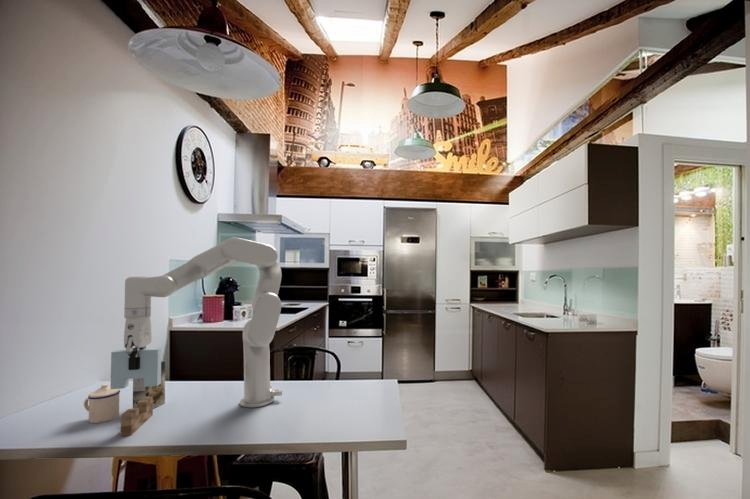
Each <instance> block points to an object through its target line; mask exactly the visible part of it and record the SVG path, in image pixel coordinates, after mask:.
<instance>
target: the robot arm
mask: <svg viewBox="0 0 750 499" xmlns="http://www.w3.org/2000/svg"><path fill="white" fill-rule="evenodd" d="M278 254H279V253H278V251H277V249H276V248H275V247H274V246H272V245H271V244H267V243H262V242H258V241H254V240H249V239H246V238H240V237H237V236H232V237H229V238H227V239H226V240H224V241H222V242H220V243H218V244H217V245H214V246H213V247H211V248H209V249H207V250H204V251H203V252H201V253H199V254H197V255H196V256H193V257H192V258H190V259H189V260H188V261H187V262H185V263H183V264H182V265H180V266H178V267H176V268H174V269H173V270H171V271H169V272H166V273H165V274H162V275H157V276H129V277H127V278H125V280H124V311H123V312H124V315H123V318H124V319H125V323H124V332H123V347H124V349H125V350H126V353H128V358H129V365H128V369H129V370H138V369H140V357H139V349H147V346H148V345H150V344H151V343H152V322H151V315H152V314H151V313H152V311H151V310H152V309H151V308H152V297H153V298H166V297H170V296H172V295H173V294H174V293H176V292H177V291H179V290H181V289H183V288H185V287H187V286H189V285H191V284H192V283H194V282H196V281H198V280H202V279H206V278H207V277H208V276H209V277H210V276H211V275H212V274H214V273H216V272H218V271H220V270H221V269H223V268H225V267H227V266H229V265H231V264H233V263H235V262H241V263H246V264H250V265H253V266H254V265H255V266H256V267H257V268H258V272H259V276H258V281H257V284H256V288H255V292H254V295H253V299H252V301H251V308H252V310H253V312H252V316H251V319H249V320H248V321H247V322H246V323H245V324H244V326H243V327H242V328H243V329H242V343H243V345H242V346H243V347H242V348H243V389H244V390H243V394H244V396H243V397H242V398H241V399H240V401H239V405H240V406H242V407H243V408H259V407H264V406H267V405H270V404H272V403H273V402H274V401H275V397H276V396H277V397H278V396H283V390H281V389H279V388H277V389H273V388H272V385H271V365H270V363H271V362H270V359H271V357H270V356H271V355H270V353H271V352H270V344H271V342H272V341H273V339H274V336H275V333H276V331H277V326H278V323H279V320H280V319H279V318H280V315H281V311H282V301H281V299H280V297H279V291H280V286H281V282H282V277H283V275H282V273H283V272H282V268H281V264H280V262H279V261H278V257H279V255H278ZM135 350H136V352H135Z"/></svg>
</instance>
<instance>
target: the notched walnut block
mask: <svg viewBox="0 0 750 499" xmlns="http://www.w3.org/2000/svg"><path fill="white" fill-rule="evenodd" d="M153 409H154V408H153V396H152V397H143V398H142V399H141V400H139V401H138V402H137V408H133V407H132V408H127V409H126V410H125V411H124V412H122V413H121V414H120V437H125V436H124V435H127V436H132V435H133V434H135V433H136V431H137V430H138V429H140V427H142V426H143V425H144V424H145V423H146V422H147V421H148V420H149V419H150V418H152V416H153V415H154V414H153V413H154V412H153Z"/></svg>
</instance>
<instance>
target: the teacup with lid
mask: <svg viewBox="0 0 750 499" xmlns="http://www.w3.org/2000/svg"><path fill="white" fill-rule="evenodd" d="M108 384H109V383H105V384H102V385H101V386H100V388H97V389H96V390H94V391H92V392H91V393H89V394H88V396H87V398H85V400H84V402H83V407H84V409H85V410H86V411H87V412H88V422H89V423H91V424H100V423H101V424H102V423H105V422H108V421H112V420H114V419H117V418H118V417H119V415H120V393H121V390H120V389H111V386H109V385H108Z"/></svg>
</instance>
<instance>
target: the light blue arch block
mask: <svg viewBox="0 0 750 499" xmlns="http://www.w3.org/2000/svg"><path fill="white" fill-rule="evenodd" d="M135 352H136V350H135ZM110 353H111V355H110V357H111V358H110V387H111V389H126V388H127V387H129V384H130V383H129V379H132V380H133V378H144V387H149V386H158V385H159V384H160V383H161V361H162V347H153V348H150V347H149V348H145V349H139V357H140V369H138V370H129V369H128V365H129V358H128V353H126V349H118V350H117V349H115V350H113V351H111V352H110Z"/></svg>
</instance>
